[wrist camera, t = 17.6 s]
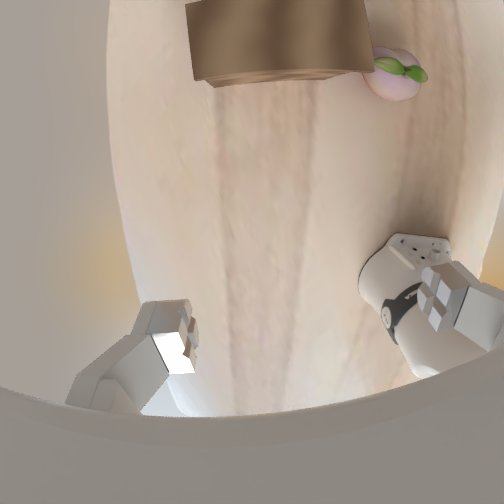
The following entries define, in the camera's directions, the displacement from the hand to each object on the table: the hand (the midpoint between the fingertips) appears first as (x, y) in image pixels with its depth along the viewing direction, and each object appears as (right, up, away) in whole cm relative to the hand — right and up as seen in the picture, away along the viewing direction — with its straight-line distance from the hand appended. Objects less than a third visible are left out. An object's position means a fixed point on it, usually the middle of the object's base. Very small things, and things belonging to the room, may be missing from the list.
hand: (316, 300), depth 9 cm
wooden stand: (-1, +35, +21) cm, 41 cm away
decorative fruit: (+17, +29, +25) cm, 42 cm away
